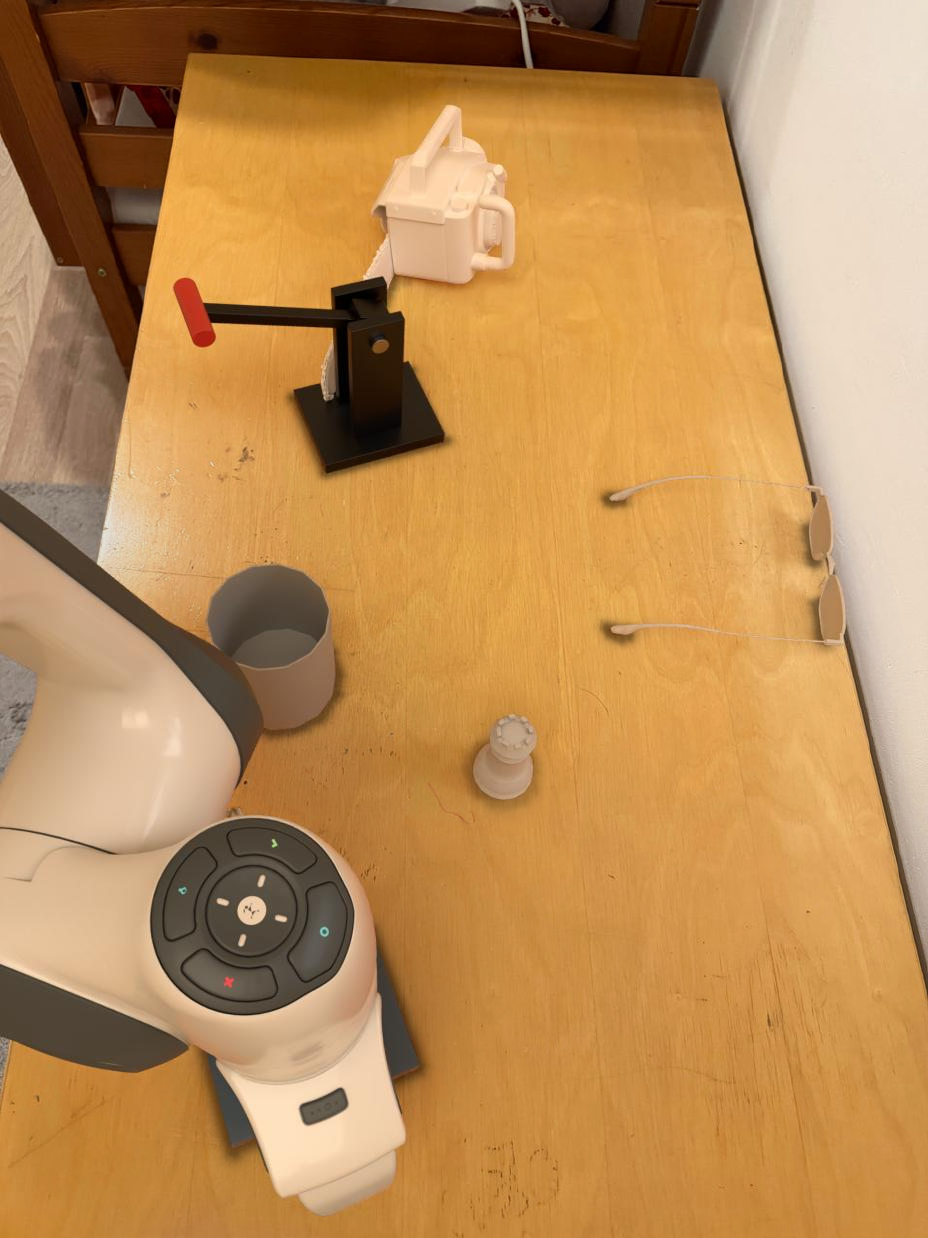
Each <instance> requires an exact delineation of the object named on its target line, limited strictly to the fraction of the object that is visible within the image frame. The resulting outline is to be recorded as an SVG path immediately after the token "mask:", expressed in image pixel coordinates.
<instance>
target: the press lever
mask: <svg viewBox="0 0 928 1238" xmlns="http://www.w3.org/2000/svg"><path fill="white" fill-rule="evenodd" d="M172 290H173V293H174V295H175V298H176V301H177V303H178V306H179V309H180V311H181V314H182V317H183V319H184V323H185V326H186V327H187V331H188V333H189V336H190V338H191V340H192V344H193V345H195V346H196V347H197V348H202V349H203V348H208V347H210V346H212V345H213V344H214V343H215V342H216V339H217V334H216V332H215V330H214V327H213V325H212V324H225V325H246V326H247V325H249V326H270V327H271V326H272V327H292V328H293V327H294V328H295V327H296V328H317V329H319V328H321V329H333V328H342V329H347V331H348V326H347V324H348V323H351V322H355V321H359V320H363V319H368V318H372V317H376V316H380V315H385V314H389V313H390V310H389V309H388V306H387V307H386V305H385V303H384V301H383V300H370V299H352V300H351V303H350V306H349V308H348V310H336V309H332V308H316V307H295V306H279V305H278V306H276V305H259V304H258V305H257V304H240V303H239V304H238V303H237V304H235V303H219V302H218V303H217V302H203V298H202V296H201V293H200V291H199V288H198V286H197V283H196V281H195V280H193V278H190V277H181V278H179V279H177V280H175V282H174V283H173V286H172Z"/></svg>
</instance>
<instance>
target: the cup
mask: <svg viewBox="0 0 928 1238" xmlns="http://www.w3.org/2000/svg"><path fill="white" fill-rule="evenodd" d="M204 623H205V626H206V629H207V632H208V635H209V636H208V637H209V639H210V643H211V644H212V645H213V646H215V647H216V648H218V649H220V650H221V651H223V652H224V653H225V654H227V655H228V656H229V657H231V658H232V659H233V660H234V661H235V662H236V663H237V665H238V666H239V667H240V669H241V670H242V672H243V673H244V675H245V676H246V678H247V680H248V681H249V683H250V685H251V687H252V689H253V692H254V694H255V696H256V699H257V701H258V704H259V707H260V709H261V712H262V715H263V719H264V728H263V729H266V730H268V731H278V730H286V729H296V728H298V727H300V726H302V725H304V724H305V723H308V722H309V721H311V720H313V719H315V718H316V717H318V716H319V715H320V714H321V713H322V712H323V710H324V708H325V707H326V706H327V705H328V703H329V701H331V699H332V697H333V695H334V689H335V681H336V675H337V671H336V660H335V648H334V647H335V646H334V645H335V644H334V634H333V621H332V609H331V607H330V604H329V601H328V598H327V596H326V593H325V590H324V588H323V587H322V586H321V585H320V584H319V583H318V582H317V581H316V580H314V578H313V577H311V576H310V575H309V574H308V573H307V572H306V571H304V570H301V569H298V568H295V567H292V566H288V565H285V564H282V563H268V564H266V563H265V564H256V565H254V564H253V565H250V566H248V567H246V568H244V569H242V570H240V571H238V572H236V573H234V574H232V575H230V576H228V577H226V579H225V580H224V581H223V582H222V583H221V585H220V586H219V587H218V588H217V589H216V591H214V593H213V594H212V595H211V596H210V599H209V603H208V607H207V611H206V616H205V621H204Z"/></svg>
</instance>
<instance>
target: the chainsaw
mask: <svg viewBox="0 0 928 1238" xmlns="http://www.w3.org/2000/svg"><path fill="white" fill-rule="evenodd" d="M462 123H463V122H462V108H460V107H458V106H456V105H453V104H446V105H445V106H444V107H443V109H442V111H441V112H440V114H439V115H438V117H437V118H436V119H435V122H434V123H433V125H432V126H431V128H430V129H429V130H428V132H427V134H426V135H425V137H423V140H422V142H421V143H420V144H419V146H418V147H417V149H416V150H415V152H413V153H412V154H406V155H403V156H400V157H398V158H396V159H395V160H394V162H393V165H392V169H391V171H390V172H389V174H388V177H387V179H386V180H385V182H384V184H383V186H382V188H381V190H380V192H379V193H378V196H377V197H376V199H375V201H374V204H373V205H372V207H371V209H370V215H371V216H372V217H373V218H378V220H379V225H380V228H381V231H382V232H383V233H384V234H386V235H385V239H384V240H383V242H382V243H381V244H380V245H379V247H378V248H379V250H378V249H377V250H375V253H376V254H375V256H373V259H372V262H371V264H370V266H369V268H367V270H366V272H365V274H363V275H362V278H363V280H367V279H372V278H376V277H381V276H383V277H384V279H385V281H386V283H387V291H388V290H389V288H390V284H391V282H392V280H393V278H394V277H395V275H396V276H401V277H409V278H415V279H420V280H421V279H422V280H428V281H435V282H441V283H449V284H452V285H453V284H454V285H466V284H468V283H470V281H471V280H472V279H473V278H474V276H475V275H476V273H477V272H487V271H492V272H503V271H507V270H508V269H510V268H512V266H513V265H514V263H515V259H516V212H515V207H514V206H513V205H512V203H511V202H510V201H509V200H508V199H507V198H505V197H506V184H505V183H506V182H507V181H508V174H507V171H506V169H505V168H504V166H503V165H502V164H498V163H493V162H488V159H487V154H486V153H485V150H484V149H483V148H482V146H481V145H480V144H479V143H478V142H477V141H475V140H474V139H471V138H469V137H466V136H464V135H463V124H462ZM447 137H448V141H447V143H446V144H445V145H443V146H442V144H443V143H444V141H445V139H446V138H447ZM441 146H442V147H441ZM499 245H501V257H498V256H490V255H489V254H488V253H489V252H490V251H491V249H492V248H494V247H498V246H499ZM320 369H321V370H322V371H321V381H320V383H321V387H322V391H323V395H324V400H325V401H329V400H331V399H332V398H334V397H333V396H334V395H332V394H334V393H335V392H336V385H335V365H334V345H333V338H332V339H331V340H330V345H329V347H328V349H327V352H326V355H324V358H323V364H321V366H320Z"/></svg>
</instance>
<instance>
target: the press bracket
mask: <svg viewBox="0 0 928 1238" xmlns="http://www.w3.org/2000/svg"><path fill="white" fill-rule="evenodd" d="M352 299H370V300H383V301H384V303H385V305H386V307H387V308H388V290H387V283H386V281H385V279H384V277H383V276H381V277H376V278H372V279H367V280H364V279H362V280H359V281H358V280H357V281H354V282H350V283H346V284H341V285H336V286H332V287H330V303H331V309H336V310H348V308H349V306H350V303H351V300H352ZM347 326H348V331H347V329H342V328H332V339H333V345H334V365H335V385H336V392H335V393H334V394H332V395H334V396H333V397H334V398H332V399H331V400H329V401H325V400H324V395H323V391H322V387H321V382H318V383H313V384H310V385H306V386H302V387H299V388H294V389H293V399H294V402H295V403H296V406H297V408H298V410H299V413H300V416H301V418H302V420H303V422H304V425H305V427H306V429H307V432H308V434H309V437H310V439H311V441H312V444H313V446H314V448H315V451H316V454H317V456H318V458H319V460H320V464H321V466H322V468H323V471H324V472H325V474H330V473H334V472H338V471H341V470H345V469H349V468H351V467H352V468H353V467H356V466H359V465H360V466H361V465H364V464H366V463H371V462H376V461H378V460H381V459H386V458H390V457H394V456H397V455H400V454H404V453H408V452H412V451H416V450H419V449H422V448H426V447H430V446H433V445H437V444H440V443H444V442H445V435H446V434H445V431H444V429H443V427H442V424H441V423H440V421H439V419H438V417H437V415H436V413H435V411H434V409H433V407H432V405H431V403H430V401H429V400H428V398H427V394H426V393H425V391H424V389H423V387H422V385H421V383H420V381H419V379H418V377H417V374H416V373H415V371H414V369H413V367H412V365H411V363H410V361H409V360H407V361H405V358H404V357H405V335H406V334H405V331H406V318H405V316H404V314H403V312H402V311H401V310H397V311H394V312H393V311H392V312H389V314H385V315H380V316H376V317H372V318H368V319H363V320H359V321H355V322H351V323H348V324H347Z"/></svg>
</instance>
